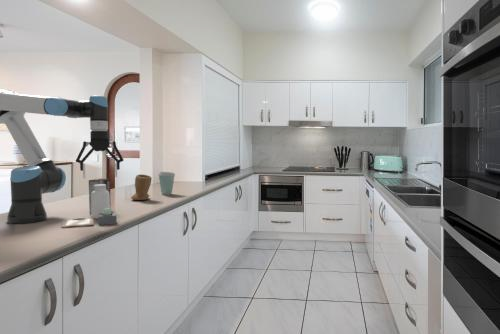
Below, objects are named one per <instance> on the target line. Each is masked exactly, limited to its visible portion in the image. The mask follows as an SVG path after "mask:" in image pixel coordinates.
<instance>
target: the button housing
mask: <svg viewBox="0 0 500 334" xmlns="http://www.w3.org/2000/svg"><path fill="white" fill-rule="evenodd" d="M116 224H117V213H116V212H111V215H106V216H103V213H102V214H99V219H98V225H99V226H100V225H101V226H102V225H103V226H104V225H116Z"/></svg>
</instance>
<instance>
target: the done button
mask: <svg viewBox="0 0 500 334" xmlns="http://www.w3.org/2000/svg"><path fill="white" fill-rule="evenodd" d="M111 213H112V208H105V209H103V216H106V215H111Z"/></svg>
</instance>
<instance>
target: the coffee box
mask: <svg viewBox="0 0 500 334" xmlns="http://www.w3.org/2000/svg"><path fill="white" fill-rule="evenodd" d="M97 184H106V190H107V191H109V193H110V194H111V178H95V179H89V180H88V198H89V199H88V204H89V207H88V208H89V210H88V213H90V214H91V193H92V192H93V191H95V190H94V189H95V188H94V185H97ZM111 207H112V203H111V200H110V208H111ZM111 209H112V208H111Z"/></svg>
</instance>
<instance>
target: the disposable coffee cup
mask: <svg viewBox="0 0 500 334" xmlns="http://www.w3.org/2000/svg"><path fill="white" fill-rule="evenodd" d="M157 176H158V181H159V187H160V192H161V195H163V196H166V195H167V196H170V195H172V193H173V188H174V180H175V176H176V174H175V173H174V172H173V171H172V172H170V171H159V172H158V175H157Z"/></svg>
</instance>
